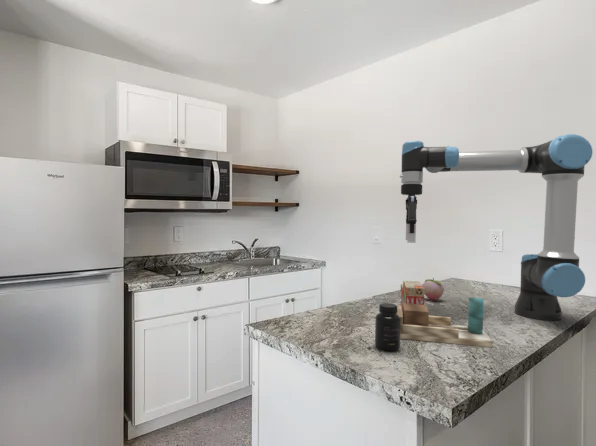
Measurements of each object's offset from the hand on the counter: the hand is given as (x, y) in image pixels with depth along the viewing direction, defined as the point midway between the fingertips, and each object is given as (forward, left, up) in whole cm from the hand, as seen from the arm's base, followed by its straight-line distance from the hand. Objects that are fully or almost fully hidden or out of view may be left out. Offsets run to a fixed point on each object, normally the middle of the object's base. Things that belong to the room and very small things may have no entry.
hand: (410, 241), depth 134 cm
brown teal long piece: (-9, +21, -25) cm, 34 cm away
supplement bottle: (+8, +37, -28) cm, 47 cm away
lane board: (-8, +21, -27) cm, 36 cm away
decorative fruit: (-12, -28, -28) cm, 41 cm away
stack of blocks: (-1, -2, -28) cm, 28 cm away
